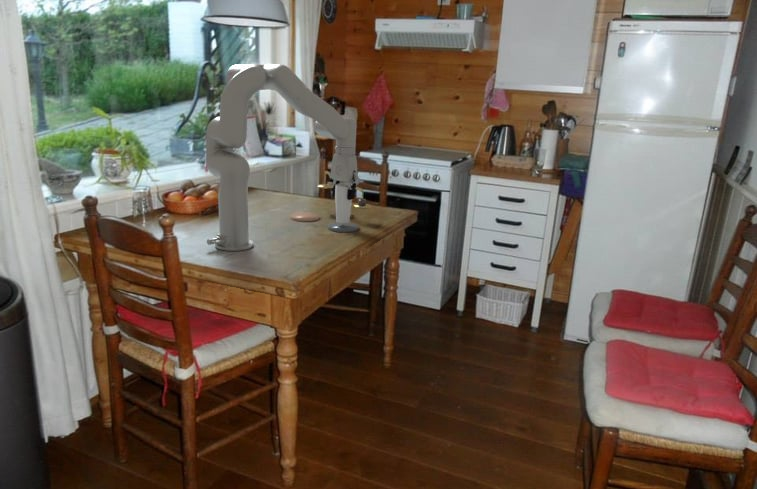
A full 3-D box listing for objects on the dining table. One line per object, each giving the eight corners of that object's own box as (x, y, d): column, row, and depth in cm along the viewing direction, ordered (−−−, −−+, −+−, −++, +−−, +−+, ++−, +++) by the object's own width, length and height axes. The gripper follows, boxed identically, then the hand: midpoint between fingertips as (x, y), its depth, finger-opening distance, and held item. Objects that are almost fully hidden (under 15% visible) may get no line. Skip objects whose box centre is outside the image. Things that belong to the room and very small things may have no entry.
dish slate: (343, 234, 209) (343, 231, 209) (321, 227, 216) (321, 225, 216) (364, 228, 218) (364, 226, 218) (342, 222, 225) (342, 220, 225)
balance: (360, 226, 222) (362, 181, 216) (312, 212, 239) (312, 170, 234) (374, 222, 227) (376, 179, 222) (325, 209, 245) (326, 168, 240)
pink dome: (303, 223, 221) (303, 220, 221) (284, 217, 228) (284, 215, 228) (325, 218, 230) (325, 216, 230) (305, 212, 237) (305, 210, 237)
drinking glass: (348, 225, 213) (350, 187, 208) (331, 223, 214) (333, 185, 209) (353, 221, 219) (354, 184, 215) (336, 219, 220) (338, 182, 216)
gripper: (322, 148, 211) (320, 194, 216) (355, 154, 200) (353, 203, 205) (336, 147, 216) (334, 192, 221) (369, 153, 206) (366, 200, 211)
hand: (343, 197), depth 213 cm, fingers closed on drinking glass, 6 cm apart
